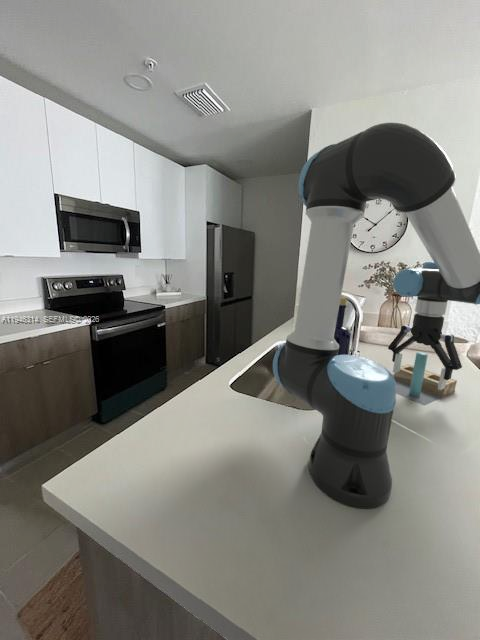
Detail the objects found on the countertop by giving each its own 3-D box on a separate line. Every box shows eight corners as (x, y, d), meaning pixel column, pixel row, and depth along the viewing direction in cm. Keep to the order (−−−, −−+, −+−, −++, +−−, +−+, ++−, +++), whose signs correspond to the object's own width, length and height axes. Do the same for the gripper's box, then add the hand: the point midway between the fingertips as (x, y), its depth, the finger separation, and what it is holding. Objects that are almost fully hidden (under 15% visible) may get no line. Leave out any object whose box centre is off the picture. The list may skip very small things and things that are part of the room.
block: (442, 397, 87) (445, 385, 86) (393, 377, 100) (395, 367, 99) (454, 391, 91) (456, 380, 90) (405, 373, 104) (407, 364, 103)
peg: (416, 398, 85) (424, 356, 82) (406, 394, 88) (414, 353, 85) (421, 396, 87) (429, 354, 84) (412, 392, 89) (419, 351, 86)
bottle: (342, 376, 101) (352, 296, 94) (350, 387, 92) (361, 300, 86) (317, 374, 102) (325, 295, 95) (322, 385, 93) (331, 299, 86)
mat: (424, 406, 81) (424, 405, 81) (369, 382, 97) (370, 381, 96) (455, 392, 91) (455, 391, 91) (402, 372, 106) (402, 371, 106)
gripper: (486, 321, 73) (470, 394, 78) (395, 306, 94) (386, 364, 99) (474, 324, 69) (457, 400, 74) (382, 308, 90) (373, 367, 95)
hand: (417, 379), depth 86 cm, fingers open, 13 cm apart
